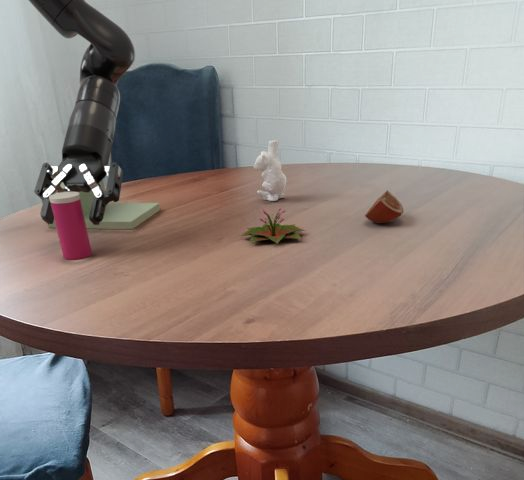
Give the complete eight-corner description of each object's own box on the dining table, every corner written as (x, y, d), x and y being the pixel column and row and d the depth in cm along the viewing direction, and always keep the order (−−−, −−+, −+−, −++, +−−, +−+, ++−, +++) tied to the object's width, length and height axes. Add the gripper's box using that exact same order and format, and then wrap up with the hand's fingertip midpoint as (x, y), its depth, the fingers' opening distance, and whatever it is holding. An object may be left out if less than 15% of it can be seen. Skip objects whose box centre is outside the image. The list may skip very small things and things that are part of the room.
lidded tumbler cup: (72, 261, 88) (58, 200, 83) (58, 256, 91) (43, 196, 86) (97, 253, 91) (85, 193, 86) (82, 248, 94) (69, 190, 89)
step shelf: (131, 229, 102) (125, 190, 99) (46, 228, 106) (36, 190, 103) (160, 209, 115) (156, 174, 111) (83, 208, 119) (76, 174, 115)
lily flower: (240, 250, 89) (238, 222, 86) (237, 229, 99) (236, 204, 97) (313, 245, 89) (313, 217, 87) (302, 224, 100) (302, 199, 97)
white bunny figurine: (265, 194, 122) (263, 137, 116) (293, 195, 120) (292, 138, 114) (251, 203, 115) (247, 144, 110) (280, 205, 113) (278, 144, 107)
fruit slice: (369, 215, 103) (371, 188, 101) (405, 216, 101) (408, 189, 98) (360, 227, 96) (361, 199, 94) (398, 229, 94) (401, 201, 92)
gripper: (40, 123, 90) (17, 210, 86) (118, 120, 87) (99, 210, 83) (64, 151, 97) (44, 232, 93) (137, 149, 94) (120, 234, 90)
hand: (70, 222), depth 88 cm, fingers open, 8 cm apart
